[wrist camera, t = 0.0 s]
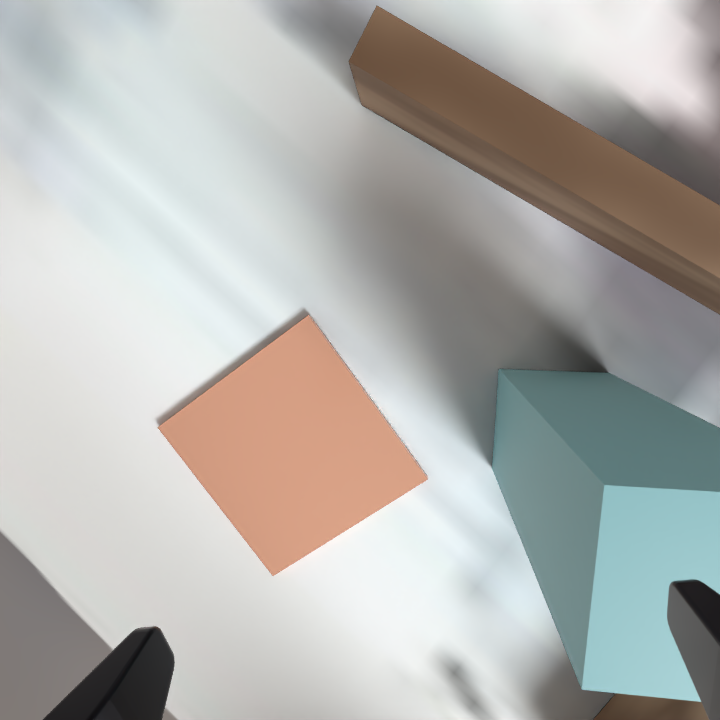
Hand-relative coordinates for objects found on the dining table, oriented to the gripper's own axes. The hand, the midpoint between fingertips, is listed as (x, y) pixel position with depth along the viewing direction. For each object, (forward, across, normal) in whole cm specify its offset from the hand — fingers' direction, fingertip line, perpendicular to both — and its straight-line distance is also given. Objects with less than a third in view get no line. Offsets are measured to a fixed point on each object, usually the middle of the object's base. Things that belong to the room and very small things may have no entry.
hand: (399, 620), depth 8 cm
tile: (+14, +6, +6) cm, 17 cm away
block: (+14, -6, +6) cm, 17 cm away
